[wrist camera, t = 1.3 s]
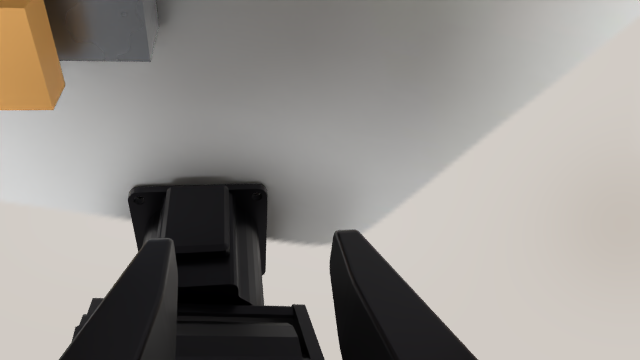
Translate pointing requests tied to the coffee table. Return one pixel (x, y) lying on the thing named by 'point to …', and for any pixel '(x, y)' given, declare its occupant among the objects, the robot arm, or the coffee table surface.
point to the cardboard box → (28, 57)
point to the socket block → (103, 29)
